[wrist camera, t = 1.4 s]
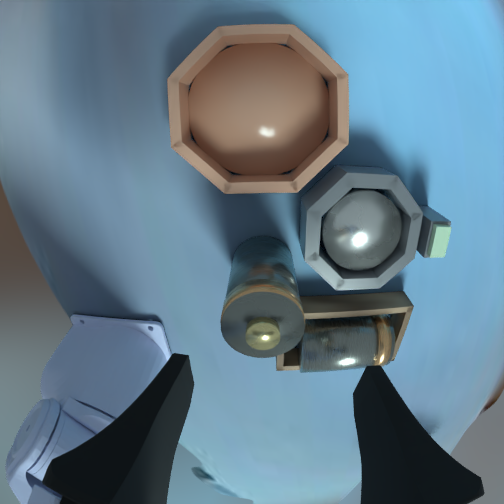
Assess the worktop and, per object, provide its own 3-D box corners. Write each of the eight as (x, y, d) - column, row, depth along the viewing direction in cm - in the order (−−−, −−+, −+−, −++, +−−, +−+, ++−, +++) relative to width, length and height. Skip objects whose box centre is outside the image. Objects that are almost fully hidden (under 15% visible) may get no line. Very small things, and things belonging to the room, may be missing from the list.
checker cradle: (298, 271, 19) (304, 300, 16) (301, 163, 16) (310, 174, 13) (416, 267, 19) (436, 292, 16) (432, 172, 16) (460, 185, 13)
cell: (233, 289, 20) (222, 366, 14) (230, 235, 18) (213, 302, 12) (292, 288, 20) (303, 365, 14) (294, 234, 18) (311, 301, 12)
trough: (275, 352, 23) (276, 370, 21) (277, 296, 20) (278, 314, 19) (387, 344, 23) (393, 360, 21) (403, 291, 20) (413, 306, 18)
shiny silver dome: (318, 265, 18) (320, 271, 17) (323, 186, 16) (326, 190, 15) (389, 263, 18) (393, 269, 17) (400, 189, 15) (406, 193, 15)
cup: (185, 187, 17) (176, 196, 15) (177, 43, 13) (166, 33, 11) (336, 184, 17) (346, 193, 15) (335, 39, 13) (345, 29, 11)
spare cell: (296, 343, 23) (300, 384, 19) (300, 306, 21) (305, 348, 17) (377, 338, 22) (390, 375, 19) (390, 302, 20) (407, 339, 17)
